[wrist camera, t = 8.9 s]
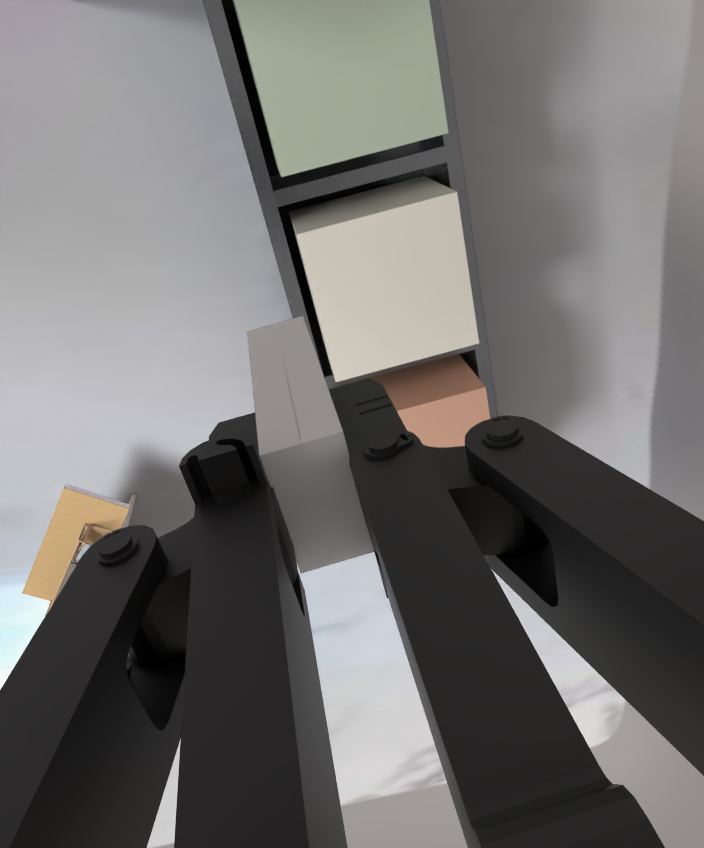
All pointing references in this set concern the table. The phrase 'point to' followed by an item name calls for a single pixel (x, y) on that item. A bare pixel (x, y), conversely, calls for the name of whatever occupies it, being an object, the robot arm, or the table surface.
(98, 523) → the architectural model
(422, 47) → the sage key
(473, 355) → the grey compartment tray
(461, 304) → the ivory key
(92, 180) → the table surface
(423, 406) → the terracotta key
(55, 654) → the robot arm
